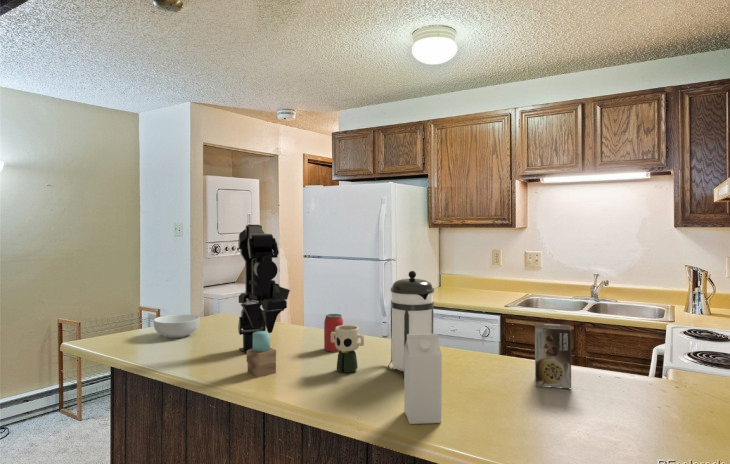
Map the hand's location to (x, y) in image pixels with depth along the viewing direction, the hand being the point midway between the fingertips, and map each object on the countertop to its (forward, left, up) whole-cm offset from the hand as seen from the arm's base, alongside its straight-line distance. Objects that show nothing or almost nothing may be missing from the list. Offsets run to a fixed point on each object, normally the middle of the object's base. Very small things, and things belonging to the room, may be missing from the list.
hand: (262, 330), depth 136 cm
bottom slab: (0, 0, -13) cm, 13 cm away
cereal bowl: (-62, -3, -13) cm, 64 cm away
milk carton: (+52, +12, -13) cm, 55 cm away
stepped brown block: (0, 0, -9) cm, 9 cm away
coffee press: (+27, +34, -13) cm, 45 cm away
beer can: (-6, +31, -13) cm, 34 cm away
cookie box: (+61, +55, -13) cm, 83 cm away
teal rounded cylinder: (0, 0, -6) cm, 6 cm away
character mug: (+15, +20, -13) cm, 28 cm away
